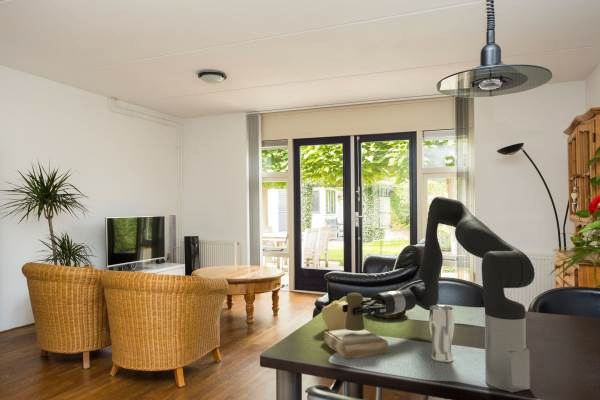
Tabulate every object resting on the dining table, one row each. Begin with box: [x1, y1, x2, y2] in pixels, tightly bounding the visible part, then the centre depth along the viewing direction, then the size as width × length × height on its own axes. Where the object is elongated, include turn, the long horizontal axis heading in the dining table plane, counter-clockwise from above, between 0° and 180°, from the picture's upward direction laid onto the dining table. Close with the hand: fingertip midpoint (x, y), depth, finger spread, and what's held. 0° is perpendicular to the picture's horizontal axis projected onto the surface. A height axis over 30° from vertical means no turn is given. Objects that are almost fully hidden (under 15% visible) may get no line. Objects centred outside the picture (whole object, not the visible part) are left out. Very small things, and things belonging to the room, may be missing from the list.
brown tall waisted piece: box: [345, 292, 365, 331], centre depth 134 cm, size 6×6×11 cm
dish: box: [374, 311, 407, 320], centre depth 175 cm, size 18×22×5 cm
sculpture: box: [321, 300, 348, 331], centre depth 151 cm, size 12×12×11 cm
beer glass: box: [428, 304, 455, 363], centre depth 123 cm, size 7×7×15 cm
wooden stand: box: [323, 328, 389, 360], centre depth 133 cm, size 16×14×4 cm
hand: (347, 310), depth 132 cm, fingers closed on brown tall waisted piece, 4 cm apart
